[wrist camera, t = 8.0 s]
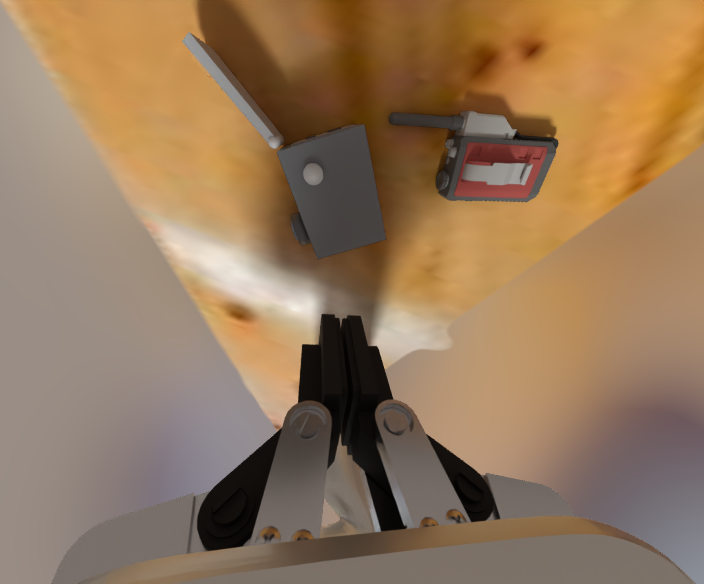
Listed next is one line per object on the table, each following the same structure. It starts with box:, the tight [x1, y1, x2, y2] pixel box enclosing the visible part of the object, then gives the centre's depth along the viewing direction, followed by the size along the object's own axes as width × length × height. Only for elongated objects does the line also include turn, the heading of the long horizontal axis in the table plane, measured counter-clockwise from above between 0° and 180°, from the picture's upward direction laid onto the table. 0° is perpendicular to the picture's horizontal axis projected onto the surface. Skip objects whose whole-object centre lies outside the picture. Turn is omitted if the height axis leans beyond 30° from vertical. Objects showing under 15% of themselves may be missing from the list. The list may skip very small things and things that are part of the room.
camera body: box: [277, 124, 386, 259], centre depth 27 cm, size 11×10×6 cm
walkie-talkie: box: [389, 111, 558, 202], centre depth 28 cm, size 9×4×20 cm
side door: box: [182, 32, 285, 149], centre depth 22 cm, size 1×9×5 cm, turn 37°
